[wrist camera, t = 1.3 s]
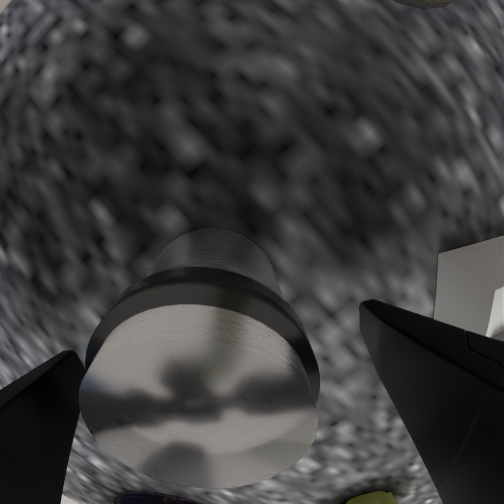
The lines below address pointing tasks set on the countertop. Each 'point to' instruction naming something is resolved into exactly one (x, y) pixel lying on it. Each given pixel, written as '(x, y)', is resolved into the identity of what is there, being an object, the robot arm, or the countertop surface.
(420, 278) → the countertop surface
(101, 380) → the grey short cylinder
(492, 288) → the grey open box
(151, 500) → the storage jar
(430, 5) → the thermos
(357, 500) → the plant pot
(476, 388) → the robot arm
